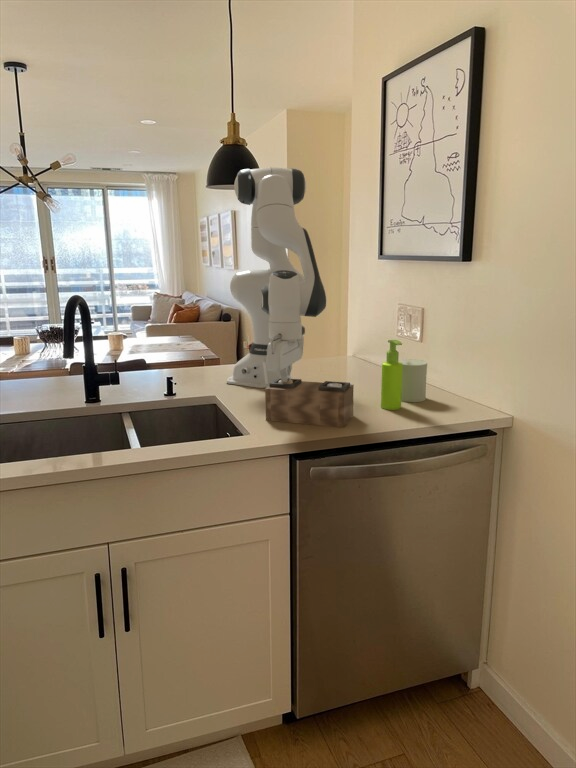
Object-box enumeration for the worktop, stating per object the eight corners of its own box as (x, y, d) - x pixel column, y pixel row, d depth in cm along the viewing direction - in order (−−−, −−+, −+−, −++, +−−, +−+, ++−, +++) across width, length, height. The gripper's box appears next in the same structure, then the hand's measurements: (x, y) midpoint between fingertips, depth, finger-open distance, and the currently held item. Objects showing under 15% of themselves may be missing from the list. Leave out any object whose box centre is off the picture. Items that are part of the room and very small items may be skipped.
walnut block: (265, 420, 155) (265, 384, 152) (279, 409, 165) (279, 376, 162) (343, 427, 147) (344, 390, 145) (353, 415, 158) (353, 381, 155)
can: (390, 399, 174) (392, 361, 171) (402, 393, 181) (403, 356, 178) (419, 403, 169) (421, 364, 166) (430, 397, 176) (432, 359, 173)
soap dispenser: (387, 411, 161) (390, 342, 156) (377, 405, 168) (379, 339, 163) (406, 409, 163) (408, 341, 158) (395, 403, 169) (397, 338, 165)
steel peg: (325, 414, 152) (325, 386, 150) (329, 410, 156) (329, 382, 154) (339, 415, 151) (339, 387, 149) (343, 411, 155) (343, 383, 153)
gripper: (283, 337, 142) (283, 390, 145) (307, 327, 161) (307, 374, 164) (259, 336, 144) (261, 388, 147) (286, 326, 163) (287, 373, 166)
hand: (285, 381), depth 156 cm, fingers closed, pressing on maple peg
